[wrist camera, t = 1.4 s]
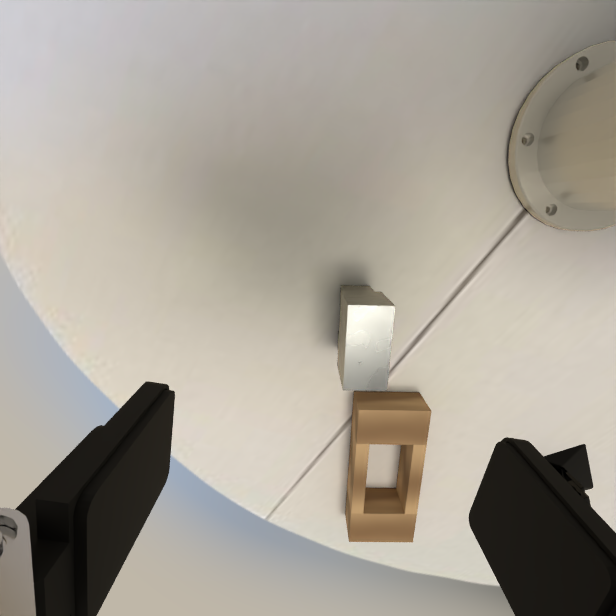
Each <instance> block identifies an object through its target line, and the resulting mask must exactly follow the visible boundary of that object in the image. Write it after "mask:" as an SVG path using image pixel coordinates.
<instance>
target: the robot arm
mask: <svg viewBox="0 0 616 616" xmlns="http://www.w3.org/2000/svg"><path fill="white" fill-rule="evenodd" d="M522 139H523V143H522ZM508 164H509V171H510V178H511V182H512V185H513V187H514V190H515V193H516V195H517V197H518V198H519V200H520V202H521V203H522V205H523V206H524V207H525V208H526V210H527V211H528V212H529V213H530V214H531V215H532V216H533V217H535V218H536V219H538V220H540V221H541V222H543V223H544V224H546V225H549V226H552V227H554V228H557V229H562V230H570V231H594V230H600V229H605V228H608V227H611V226H614V225H616V40H613V41H607V42H603V43H600V44H596V45H593V46H590V47H588V48H586V49H584V50H582V51H580V52H578V53H576V54H574V55H573V56H571V57H569V58H568V59H566V60H565V61H563V62H561V63H560V64H558V65H557V66H556V67H554V68H553V69H552V70H551V71H550V72H549V73H548V74H547V75H545V76H544V77H543V78H542V79H541V80H540V82H539V83H538V84H537V85H536V87H535V88H534V89H533V90H532V91H531V93H530V94H529V96H528V97H527V99H526V101H525V102H524V104H523V106H522V108H521V109H520V111H519V114H518V116H517V119H516V121H515V124H514V127H513V130H512V135H511V139H510V144H509V160H508ZM174 400H175V392H174V391H171V390H169V386H168V385H167V384H161V383H155V382H145V383H144V384H143V385H142V386H141V387H140V388H139V389H138V390H137V391H136V393H135V394H134V395H133V396H132V397H131V398H130V399H129V400H128V401H127V402H126V403H125V404H124V405H123V406H122V407H121V408H120V410H119V411H118V412H117V413H116V414H115V415H114V416H113V417H112V418H111V419H110V420H109V421H108V422H107V423H106V425H105V426H102V425H101V426H98V427H96V428H95V429H94V430H92V431H91V432H90V433H89V434H88V435H87V436H86V437H85V438H84V439H83V440H82V442H81V443H80V444H79V445H78V446H77V447H76V448H75V449H74V450H73V451H72V452H71V453H70V454H69V455H68V456H67V457H66V458H65V459H64V460H63V461H62V462H61V463H60V464H59V465H58V466H57V467H56V468H55V469H54V470H53V471H52V472H51V473H50V474H49V475H48V476H47V477H46V478H45V479H44V480H43V481H42V482H41V484H40V485H39V486H38V487H37V488H36V489H35V490H34V491H33V492H32V493H31V494H30V495H29V496H28V497H27V498H26V499H25V500H24V501H23V502H22V503H21V504H20V505H19V506H18V507H17V508H16V509H15V510H14V509H10V508H0V616H96V615H97V614H98V612H99V610H100V608H101V606H102V604H103V602H104V600H105V598H106V596H107V594H108V593H109V591H110V589H111V587H112V585H113V583H114V581H115V579H116V577H117V575H118V573H119V571H120V570H121V568H122V565H123V564H124V562H125V560H126V558H127V556H128V554H129V552H130V550H131V548H132V547H133V545H134V542H135V541H136V539H137V537H138V535H139V533H140V531H141V529H142V527H143V525H144V523H145V521H146V520H147V518H148V516H149V514H150V512H151V510H152V508H153V506H154V504H155V502H156V500H157V499H158V497H159V495H160V493H161V491H162V489H163V487H164V485H165V483H166V480H167V477H168V474H169V467H170V466H169V465H170V453H171V440H172V427H173V414H174ZM469 524H470V527H471V529H472V531H473V533H474V535H475V537H476V539H477V541H478V543H479V545H480V547H481V549H482V551H483V553H484V555H485V557H486V559H487V561H488V563H489V565H490V567H491V569H492V571H493V573H494V575H495V577H496V579H497V581H498V583H499V584H500V586H501V588H502V590H503V592H504V594H505V596H506V598H507V600H508V602H509V604H510V606H511V608H512V610H513V612H514V614H515V616H616V533H615V532H614V531H613V530H612V529H611V528H610V527H609V525H608V524H607V523H606V522H605V521H604V520H603V519H602V518H601V517H600V516H599V515H598V514H597V513H596V512H595V511H594V510H593V509H592V507H591V506H590V505H589V504H588V503H587V502H586V501H585V500H584V499H583V498H582V497H581V496H580V495H579V494H578V493H577V492H576V491H575V490H574V488H573V487H572V486H571V485H570V484H569V483H568V482H567V481H566V480H565V479H564V478H563V477H562V476H561V475H560V474H559V473H558V472H557V471H556V469H555V468H554V467H553V466H552V465H551V464H550V463H549V462H548V461H547V460H546V459H545V458H544V457H543V456H542V455H541V454H540V453H539V451H538V450H537V449H536V448H535V447H534V446H533V445H532V444H531V443H530V442H528V441H526V440H520V439H514V438H504V439H503V440H502V441H501V442H498V443H497V444H496V446H495V448H494V451H493V453H492V456H491V459H490V461H489V464H488V466H487V469H486V471H485V474H484V477H483V479H482V482H481V484H480V487H479V489H478V492H477V495H476V497H475V500H474V502H473V505H472V507H471V510H470V513H469Z"/></svg>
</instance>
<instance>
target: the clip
mask: <svg viewBox="0 0 616 616" xmlns="http://www.w3.org/2000/svg"><path fill="white" fill-rule="evenodd" d="M340 305H341V306H340V325H339V331H338V362H337V366H338V370H339V375H340V379H341V384H342V388H343V390H360V391H387V385H388V375H389V364H390V354H391V344H392V334H393V324H394V314H395V305H394V304H393V303H392V302H391V301H390V300H389V299H388V298H387V297H386V296H385V295H384V294H383V293H382V292H375V291H374V290H373V289H372V288H371V287H370V286H349V285H341V293H340Z"/></svg>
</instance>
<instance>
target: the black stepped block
mask: <svg viewBox="0 0 616 616" xmlns="http://www.w3.org/2000/svg"><path fill="white" fill-rule="evenodd" d="M544 458H545V459H546V460H547V461H548V462H549V463H550V464H551V465H552V466H553V467H554V468H555V469H556V471H557V472H558V473H559V474H560V475H561V476H562V477H563V478H564V479H565V480H566V481H567V482H568V483H569V484H570V485H571V486H572V487H573V488H574V490H575V491H576V492H577V493H578V494H579V495H580V496H581V497H582V498H583V499H584V500H585V501H586V502H587V503H588V504H589V505H590V500H589V496H588V495H587V494H586V493H585V490H588V489H592V488H593V482H592V477H591V472H590V466H589V461H588V456H587V451H586V445H585V444H582V445H579V446H576V447H573V448H570V449H566V450H563V451H560V452H557V453H554V454H550V455H547V456H544ZM590 506H591V505H590Z"/></svg>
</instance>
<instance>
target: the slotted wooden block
mask: <svg viewBox="0 0 616 616" xmlns="http://www.w3.org/2000/svg"><path fill="white" fill-rule="evenodd" d="M430 416H431V410H430V408H429V407H428V405H427V404H426V402H425V400H424V399H423V397H422V396H421V394H420V393H418V392H360V391H354V398H353V412H352V426H351V440H350V455H349V469H348V483H347V497H346V512H345V516H346V523H347V530H348V537H349V542H413V537H414V530H415V523H416V516H417V509H418V502H419V494H420V487H421V480H422V473H423V466H424V459H425V452H426V445H427V438H428V431H429V424H430ZM369 444H393V445H401V452H400V460H399V469H398V477H397V486H396V488H366V477H367V465H368V454H369Z"/></svg>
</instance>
